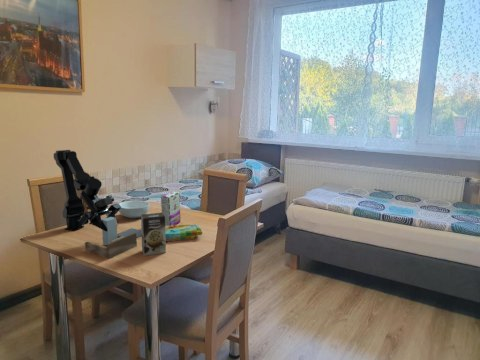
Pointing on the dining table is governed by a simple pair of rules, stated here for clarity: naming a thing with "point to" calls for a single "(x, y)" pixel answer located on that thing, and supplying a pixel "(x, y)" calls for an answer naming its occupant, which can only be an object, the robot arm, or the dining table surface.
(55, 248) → the dining table surface
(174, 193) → the candy bar box
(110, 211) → the robot arm
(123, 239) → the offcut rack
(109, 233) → the tall block
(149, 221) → the coffee box
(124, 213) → the cereal bowl
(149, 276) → the dining table surface
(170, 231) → the puzzle game
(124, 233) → the rubber mat
